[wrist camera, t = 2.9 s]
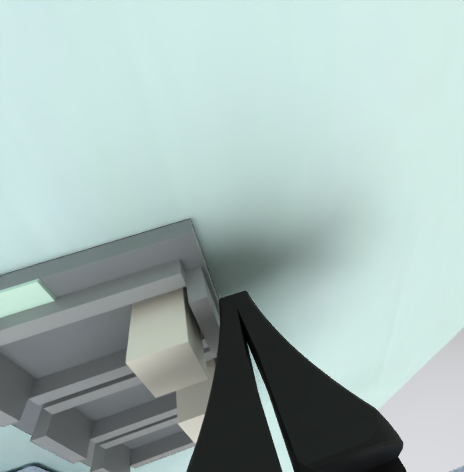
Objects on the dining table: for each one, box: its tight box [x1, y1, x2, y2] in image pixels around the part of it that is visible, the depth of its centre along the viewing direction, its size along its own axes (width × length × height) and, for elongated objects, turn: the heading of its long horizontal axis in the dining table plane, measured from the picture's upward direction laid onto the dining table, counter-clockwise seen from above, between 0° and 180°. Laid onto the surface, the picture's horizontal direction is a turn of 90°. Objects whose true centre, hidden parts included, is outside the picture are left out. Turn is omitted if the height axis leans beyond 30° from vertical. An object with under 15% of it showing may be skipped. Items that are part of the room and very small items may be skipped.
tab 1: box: [126, 287, 208, 398], centre depth 12 cm, size 2×3×3 cm
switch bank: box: [0, 219, 220, 472], centre depth 16 cm, size 14×20×3 cm
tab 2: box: [176, 358, 216, 443], centre depth 15 cm, size 2×3×3 cm
